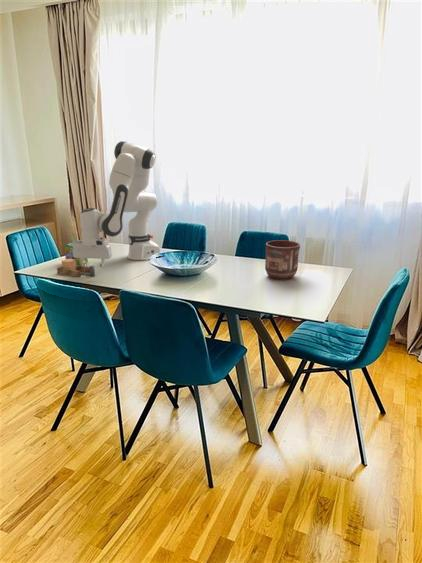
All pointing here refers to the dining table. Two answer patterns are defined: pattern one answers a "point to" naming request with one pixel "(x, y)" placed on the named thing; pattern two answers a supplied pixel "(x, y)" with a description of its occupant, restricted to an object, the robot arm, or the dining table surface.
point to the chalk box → (69, 253)
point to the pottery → (281, 259)
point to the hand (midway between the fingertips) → (93, 266)
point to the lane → (73, 271)
